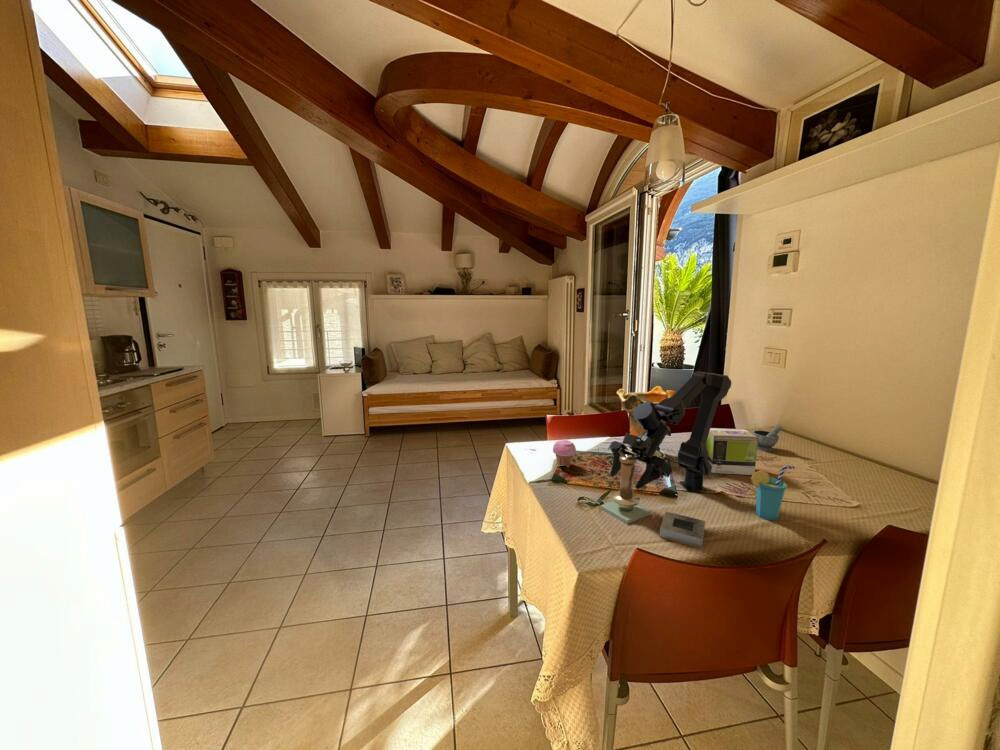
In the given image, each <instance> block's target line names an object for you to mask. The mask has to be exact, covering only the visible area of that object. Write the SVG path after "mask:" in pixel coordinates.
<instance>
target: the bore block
mask: <svg viewBox="0 0 1000 750" xmlns="http://www.w3.org/2000/svg"><path fill="white" fill-rule="evenodd" d="M705 527H706V520H703V519H699V518H694V517H691V516H687V515H682V514H678V513H673V512H670V511H665V512H664V515H663V518H662V521H661V525H660V527H659V534H658V535H659V537H658V538H661V539H664V540H665V539H666V540H668V541H673V542H677V543H680V544H684V545H687V546H692V547H695V548H699V549H703V542H704V536H705Z"/></svg>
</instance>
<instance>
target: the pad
mask: <svg viewBox="0 0 1000 750" xmlns="http://www.w3.org/2000/svg"><path fill="white" fill-rule="evenodd" d="M599 508H600V510H601V511H603V512H605V513H607V514H608V515H610V516H612V517H614V518H616V519H618V520H619V521H621V522H623V523H624V524H626V525H628V524H631V523H633V522H635V521H638V520H641V519H643V518H645V517H648V516H650V515H651V513H652V511H651V510H649V509H647V508H645V507H643V506H641V505H640V504H638V505H636V506H633V509H632V511H629V512H626V511H622V510H620V509H619V508H618V504H617V503H615V502H614V501H613V500H611V501H610V502H605V503H603V504H600V507H599Z"/></svg>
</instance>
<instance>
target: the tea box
mask: <svg viewBox="0 0 1000 750" xmlns="http://www.w3.org/2000/svg"><path fill="white" fill-rule="evenodd" d="M757 445H758V437H757V436H755V435H754V434H752V432H750V431H749V430H747V429H745V428H725V427H724V428H722V427H721V428H719V427H718V428H717V427H711V428H710V431H709V434H708V437H707V441H706V447H707V450H708V457H707V460H708V461H709V463H710V464H711V466H712V469H711V472H710V473H711V474H728V475H744V476H745V475H747V476H752V475H753V474H754V472H756V464H757V455H758V449H757Z"/></svg>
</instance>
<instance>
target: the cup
mask: <svg viewBox="0 0 1000 750" xmlns="http://www.w3.org/2000/svg"><path fill="white" fill-rule="evenodd" d="M786 469H789V470H794V469H795V466H793V465H784V466H783V467H781V469H780V471H779V474H778V478H775V477H772V476H770V475H769V473H768V472H766V471H764V470H762V469H760V470H757V471H755V472H754V474H753V475H751V477H750V482H751V484H752V486H754V487H756V489H755V490H756V491H755V492H756V495H755V497H756V498H755V500H756V501H755V515H756V516H758V517H759V518H761V519H764V520H766V521H774V522H775V521H777V520H778V518H779V515H780V510H781V507H782V503H783V499H784V496H785V492H786V489H787V488H788V484H787V483H786V482H784V481H783V480H782V478H783V476H784V474H785V472H786Z"/></svg>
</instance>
